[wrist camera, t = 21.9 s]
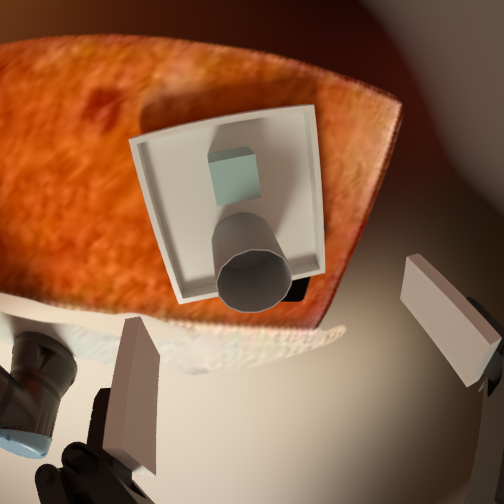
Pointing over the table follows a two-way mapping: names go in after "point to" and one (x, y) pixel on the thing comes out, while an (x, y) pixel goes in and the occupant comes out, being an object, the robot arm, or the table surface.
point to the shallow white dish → (210, 215)
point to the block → (234, 175)
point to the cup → (249, 264)
